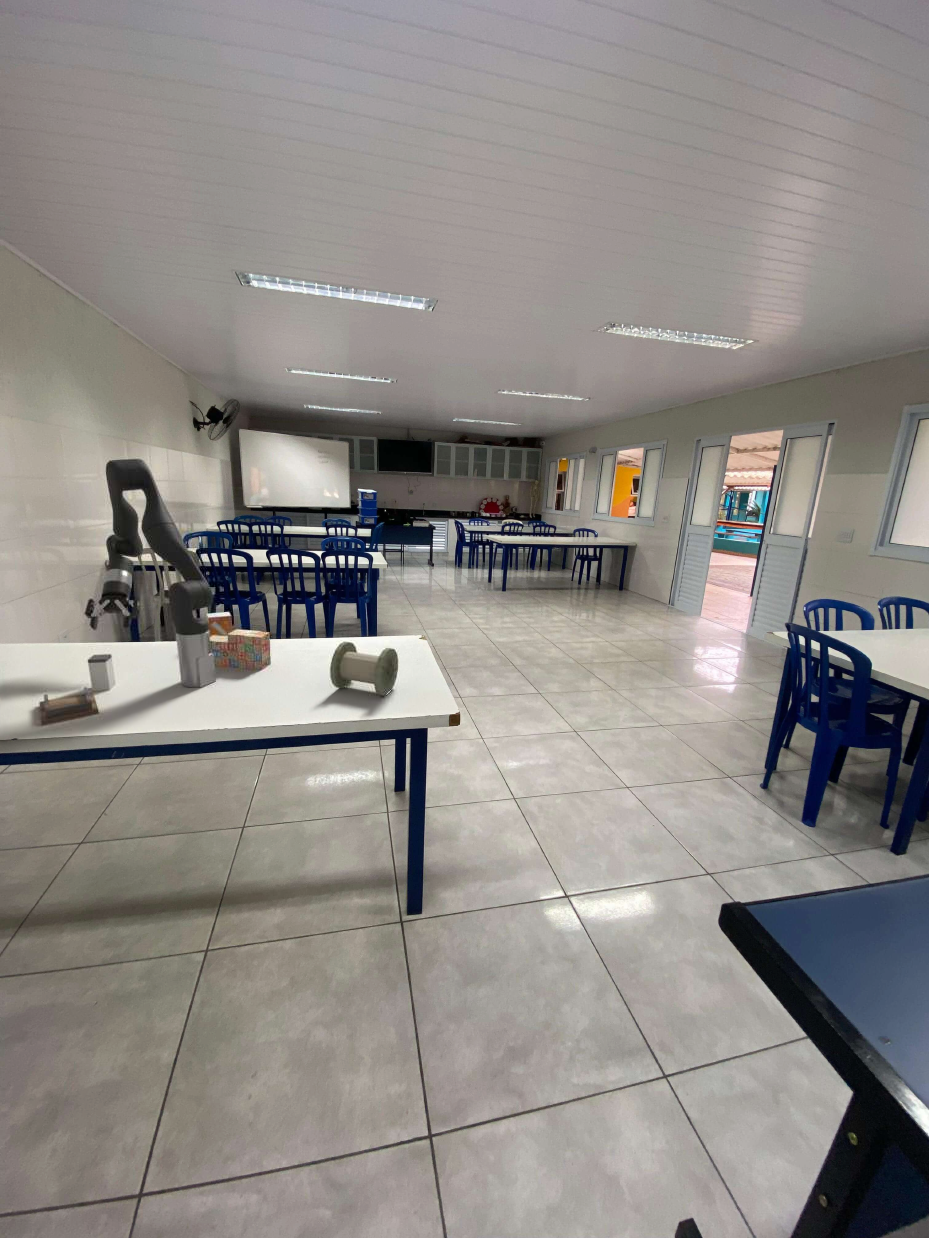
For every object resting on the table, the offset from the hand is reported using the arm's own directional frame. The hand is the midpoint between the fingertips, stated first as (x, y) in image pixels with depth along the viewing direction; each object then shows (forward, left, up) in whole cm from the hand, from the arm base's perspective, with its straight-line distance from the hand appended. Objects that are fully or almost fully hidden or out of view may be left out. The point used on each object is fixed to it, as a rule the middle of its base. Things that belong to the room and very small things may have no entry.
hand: (109, 628), depth 154 cm
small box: (-8, -36, -16) cm, 40 cm away
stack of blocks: (-28, -24, -16) cm, 40 cm away
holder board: (-13, +23, -16) cm, 31 cm away
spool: (-79, -24, -16) cm, 84 cm away
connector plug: (-7, +9, -16) cm, 19 cm away
